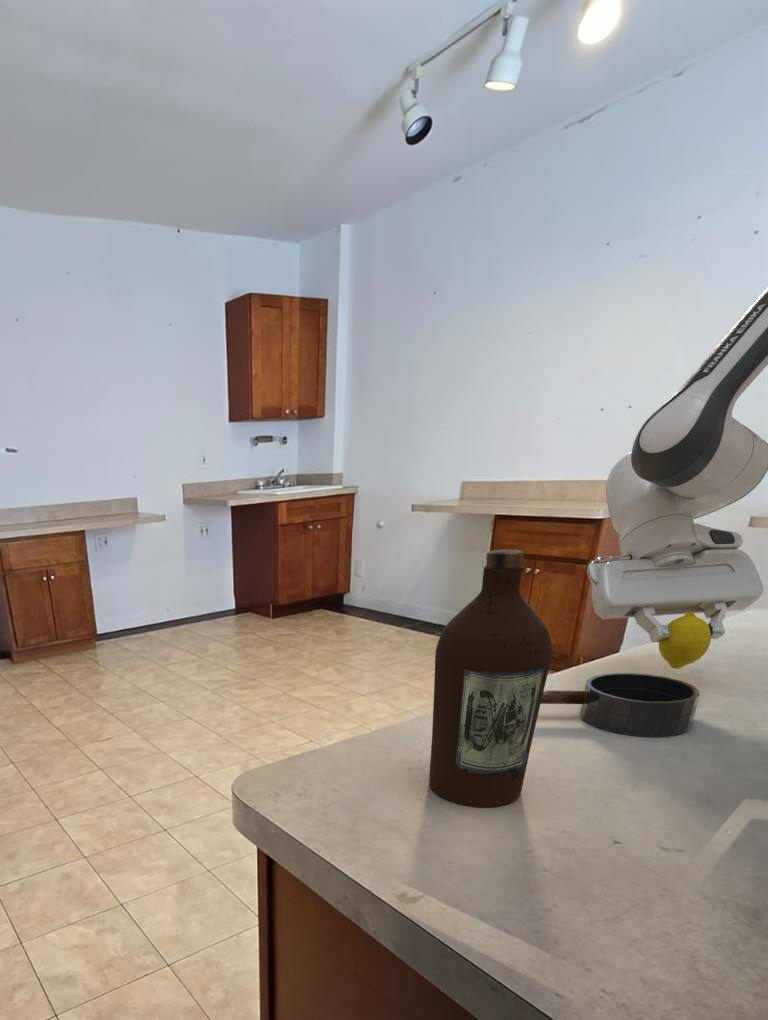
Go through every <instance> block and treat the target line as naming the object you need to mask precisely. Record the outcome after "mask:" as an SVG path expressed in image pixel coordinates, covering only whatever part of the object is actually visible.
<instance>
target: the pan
mask: <svg viewBox="0 0 768 1020" xmlns="http://www.w3.org/2000/svg"><path fill="white" fill-rule="evenodd" d="M583 691H587V692H588V701H587V703H586V704H580V705H581V706H580V712H579V716H580V718H581V719H582V720H583V721H584V722H585V723H587V724H589V725H590V726H593V727H595V728H598V729H599V730H603V731H607V732H610V733H614V734H620V735H627V736H631V737H632V736H634V737H644V738H664V737H665V738H666V737H674V736H679V735H682V734H685V733H686V732H688V731H689V730H690V729H691V726H692V724H693V721H694V718H695V713H696V710H697V708H698V703H699V700H700V697H701V693H700V690H699V688H697V687H696V686H694V685H692V684H691V683H688V682H686V681H682V680H679V679H675V678H671V677H667V676H662V675H655V674H650V673H648V674H647V673H637V672H611V673H602V674H598V675H595V676H591V677H590V678H588V679H586V681H585V686H584V690H583Z"/></svg>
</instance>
